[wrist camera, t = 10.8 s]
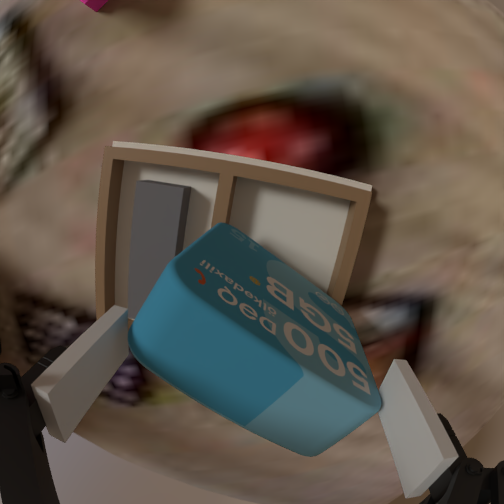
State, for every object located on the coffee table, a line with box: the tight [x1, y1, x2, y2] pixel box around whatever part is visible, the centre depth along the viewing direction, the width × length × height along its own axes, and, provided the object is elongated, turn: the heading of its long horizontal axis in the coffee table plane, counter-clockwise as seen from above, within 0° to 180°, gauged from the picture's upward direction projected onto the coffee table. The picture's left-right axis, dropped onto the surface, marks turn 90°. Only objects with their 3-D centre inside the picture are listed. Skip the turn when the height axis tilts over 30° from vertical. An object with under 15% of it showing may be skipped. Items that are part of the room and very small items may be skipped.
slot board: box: [95, 141, 372, 331], centre depth 24 cm, size 22×18×3 cm
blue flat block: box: [127, 222, 381, 457], centre depth 17 cm, size 12×4×12 cm, turn 54°
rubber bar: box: [128, 180, 191, 319], centre depth 24 cm, size 4×12×2 cm, turn 170°
